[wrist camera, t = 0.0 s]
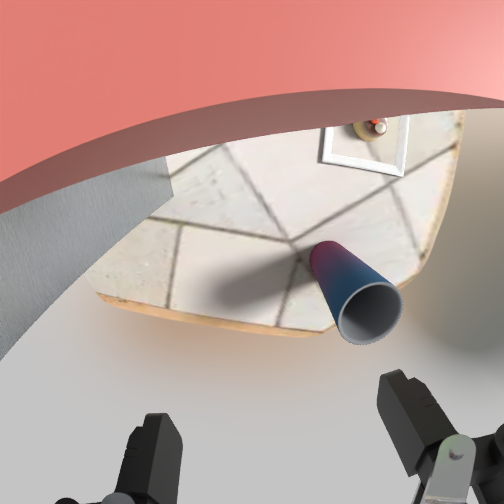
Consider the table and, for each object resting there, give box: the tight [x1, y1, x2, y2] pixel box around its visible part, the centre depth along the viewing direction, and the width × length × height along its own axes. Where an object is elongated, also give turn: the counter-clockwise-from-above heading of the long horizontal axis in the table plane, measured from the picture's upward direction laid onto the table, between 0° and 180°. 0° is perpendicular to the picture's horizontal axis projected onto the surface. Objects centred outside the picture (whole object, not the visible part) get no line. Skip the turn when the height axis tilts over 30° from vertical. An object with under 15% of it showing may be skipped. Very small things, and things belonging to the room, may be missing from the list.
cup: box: [310, 241, 403, 345], centre depth 32 cm, size 7×7×15 cm
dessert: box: [322, 115, 409, 177], centre depth 32 cm, size 12×12×5 cm
